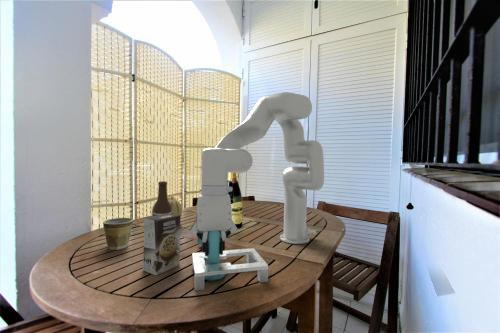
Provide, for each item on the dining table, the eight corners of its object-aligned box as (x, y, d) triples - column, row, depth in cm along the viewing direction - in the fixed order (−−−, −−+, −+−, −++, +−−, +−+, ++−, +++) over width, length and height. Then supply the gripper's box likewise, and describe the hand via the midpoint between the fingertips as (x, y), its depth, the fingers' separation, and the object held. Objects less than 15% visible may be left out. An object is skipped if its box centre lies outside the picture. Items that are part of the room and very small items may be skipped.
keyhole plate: (253, 261, 82) (253, 248, 82) (267, 281, 69) (268, 265, 69) (192, 267, 77) (192, 253, 76) (194, 290, 63) (195, 273, 63)
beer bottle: (148, 238, 103) (148, 181, 103) (161, 233, 110) (162, 180, 110) (162, 241, 100) (163, 182, 100) (175, 236, 107) (176, 181, 107)
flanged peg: (222, 268, 76) (223, 216, 75) (226, 278, 69) (227, 222, 69) (200, 270, 74) (201, 217, 73) (202, 281, 67) (203, 223, 67)
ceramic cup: (137, 247, 93) (137, 220, 93) (108, 253, 86) (108, 225, 86) (124, 239, 102) (124, 215, 102) (96, 244, 95) (96, 218, 95)
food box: (156, 276, 70) (156, 220, 70) (142, 270, 74) (143, 217, 73) (180, 265, 78) (181, 214, 78) (167, 260, 82) (167, 212, 81)
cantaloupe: (153, 222, 129) (153, 194, 129) (182, 221, 133) (182, 193, 132) (148, 230, 115) (149, 198, 114) (181, 229, 118) (181, 198, 118)
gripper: (239, 189, 77) (238, 247, 77) (184, 189, 72) (183, 251, 73) (245, 192, 70) (244, 256, 70) (185, 193, 65) (184, 261, 65)
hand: (213, 253), depth 71 cm, fingers closed on flanged peg, 3 cm apart
